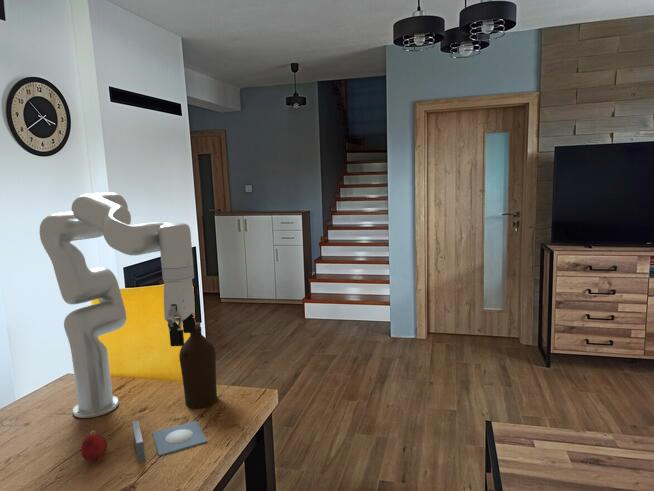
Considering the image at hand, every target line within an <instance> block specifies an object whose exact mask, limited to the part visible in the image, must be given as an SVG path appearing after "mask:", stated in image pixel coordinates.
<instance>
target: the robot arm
mask: <svg viewBox="0 0 654 491" xmlns="http://www.w3.org/2000/svg"><path fill="white" fill-rule="evenodd" d="M128 207H129V206H128V203H127V201H126V199H125V198H124V197H123V196H122V195H120V194H119V193H116V192H100V193H99V192H94V193H84V194H82V195H79V196H78V197H76V198H75V199H74V200H73V202H72V203H71V211H66V212H65V211H64V212H58V213H52V214H50V215H48V216H46V217H45V218H44V219H42V221H41V223H40V225H39V239H40V242H41V245H42V246H43V248H44V251H45V252H46V253H47V256H48V257H49V260H50V261H51V264H52V267H53V271H54V274H55V277H56V281H57V284H58V289H59V291H60V294H61V297H62V300H63V301H64V302H65V303H66V304H68V305H78V304H84V303H87V302H92V301H94V300H98V301H99V302H98V303H95V304H91V305H86V306H84V307H80V308H78V309H75V310H72V311H70V313H68V314H67V315H66V316H65V318H64V321H63V326H64V327H63V328H64V330H65V331H64V332H65V334H66V338H67V340H68V344H69V349H70V353H71V359H72V360H71V361H72V367H73V368H72V369H73V375H74V384H75V391H76V393H75V394H76V398H77V404H76V405H75V406H74V407H73V408H72V414H73V415H74V417H77V418H80V419H90V418H95V417H99V416H103V415H105V414H108V413H111V412H112V411H113V410H115V409H116V408H117V407H118V406H119V402H120V401H119V398H118V396H115V395H113V388H112V378H111V372H110V362H109V355H108V354H109V353H108V349H107V346H106V345H105V344H104V343H103V342H102V341H101V340H100V339H99V337H101V336H103V335H105V334H109V333H112V332H114V331H117V330H120V329H121V328H123V327H124V326H125V324H126V321H127V312H126V308H125V303H124V300H123V296H122V293H121V290H120V286H119V282H118V280H117V277H116V275H115V274H114V272H113V271H112V270H111V269H109V268H107V267H104V266H103V267H102V266H101V267H100V266H99V267H94V268H93V267H92V268H88V266H87V262H86V258H85V255H84V254H83V252H82V251H81V250H80V249H79V248H78V247H77V246H76V245H74V244H73V243H71V242H75V241H81V240H83V241H84V240H89V239H96V238H101V237H103V238H104V240H105V242H106V244H107V245H108V246H109V247H110V248H112V249H114V250H115V251H117V252H120V253H122V254H125V255H128V256H140V255H141V256H142V255H146V254H151V253H160V263H161V273H162V275H161V276H162V282H164V283H163V310H164V311H163V314H164V315H163V316H164V320H165V321H166V322H167V327H168V332H169V345H170V347H182V346H183V345H184V343H185V339H184V338H185V337H184V334H190V333H195V332H196V325H195V322H196V313H195V308H196V306H195V305H196V303H195V302H196V301H195V294H194V293H195V292H194V286H193V285H194V283H193V279H194V278H195V271H194V257H193V245H192V234H191V233H192V232H191V227H190V225H189V224H187V223H183V222H182V223H180V222H179V223H178V222H177V223H172V222H167V221H155V222H148V223H147V222H145V223H137V224H131V222H132V216H131V212H130V211H129V208H128ZM177 322H178V323H177Z"/></svg>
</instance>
